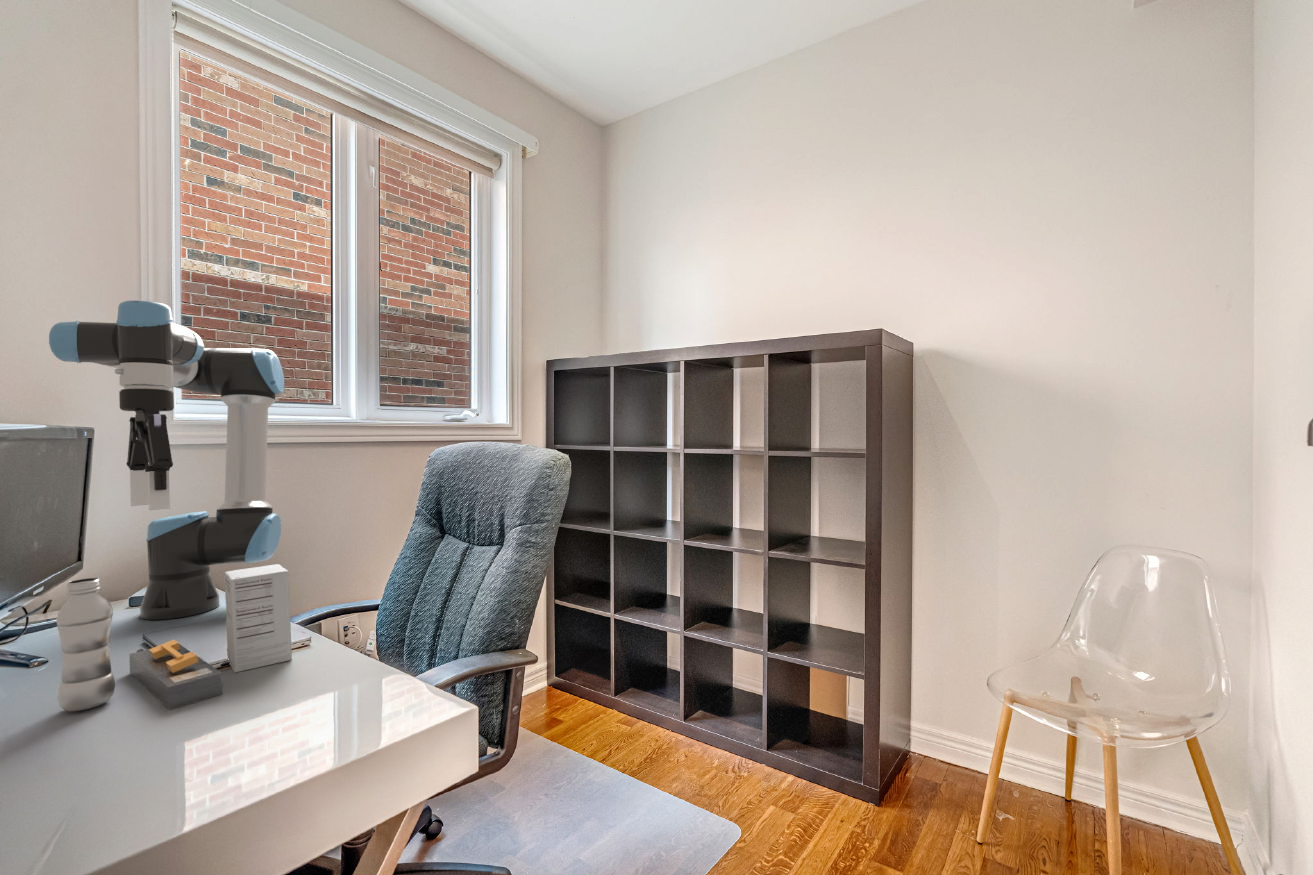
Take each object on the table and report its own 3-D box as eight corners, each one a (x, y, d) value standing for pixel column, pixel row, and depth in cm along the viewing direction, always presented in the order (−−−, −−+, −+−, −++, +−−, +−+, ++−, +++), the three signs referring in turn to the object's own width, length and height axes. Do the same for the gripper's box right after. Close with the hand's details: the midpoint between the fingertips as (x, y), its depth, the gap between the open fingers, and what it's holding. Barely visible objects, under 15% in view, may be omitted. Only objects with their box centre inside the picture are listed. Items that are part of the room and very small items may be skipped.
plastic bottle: (50, 711, 96) (45, 583, 95) (105, 694, 102) (100, 573, 101) (68, 720, 93) (63, 587, 92) (124, 702, 99) (119, 577, 98)
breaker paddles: (151, 655, 108) (148, 647, 108) (175, 645, 111) (173, 637, 111) (172, 672, 100) (169, 663, 100) (198, 661, 103) (196, 652, 103)
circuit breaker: (116, 660, 117) (115, 641, 116) (162, 649, 122) (162, 631, 122) (169, 709, 95) (168, 686, 95) (222, 693, 101) (221, 671, 101)
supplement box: (293, 660, 115) (290, 570, 115) (233, 674, 109) (230, 579, 109) (282, 647, 123) (280, 562, 122) (226, 659, 116) (223, 570, 116)
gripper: (105, 392, 116) (107, 505, 116) (136, 382, 100) (139, 513, 100) (155, 394, 121) (158, 501, 121) (192, 384, 106) (195, 508, 106)
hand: (149, 507), depth 111 cm, fingers open, 13 cm apart
